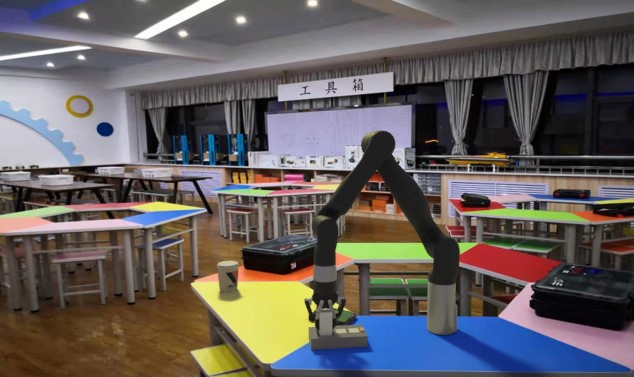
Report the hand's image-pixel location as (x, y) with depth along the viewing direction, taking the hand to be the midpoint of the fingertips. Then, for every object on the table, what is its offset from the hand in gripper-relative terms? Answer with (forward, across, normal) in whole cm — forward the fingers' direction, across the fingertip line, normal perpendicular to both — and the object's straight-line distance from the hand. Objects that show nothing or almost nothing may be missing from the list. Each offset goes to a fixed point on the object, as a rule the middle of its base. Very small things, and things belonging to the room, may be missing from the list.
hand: (325, 328), depth 143 cm
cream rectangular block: (+2, 0, 0) cm, 2 cm away
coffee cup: (+5, +36, -56) cm, 67 cm away
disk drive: (+5, -5, -18) cm, 20 cm away
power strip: (+5, -4, 0) cm, 6 cm away
